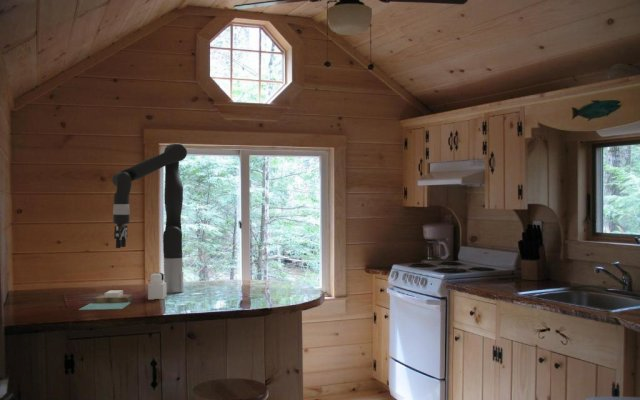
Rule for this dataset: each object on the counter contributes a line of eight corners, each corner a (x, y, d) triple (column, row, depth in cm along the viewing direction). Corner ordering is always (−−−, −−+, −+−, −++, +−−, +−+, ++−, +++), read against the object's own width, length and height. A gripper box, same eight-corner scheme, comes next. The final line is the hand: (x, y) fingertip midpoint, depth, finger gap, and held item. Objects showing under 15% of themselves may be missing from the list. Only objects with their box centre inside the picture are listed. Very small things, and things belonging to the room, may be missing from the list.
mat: (130, 303, 284) (130, 302, 284) (121, 309, 268) (121, 308, 268) (90, 304, 283) (90, 303, 283) (78, 310, 267) (78, 309, 267)
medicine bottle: (151, 297, 301) (151, 272, 301) (166, 297, 301) (166, 272, 301) (147, 299, 294) (147, 274, 294) (163, 299, 294) (162, 273, 294)
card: (109, 294, 294) (109, 290, 294) (122, 294, 294) (122, 290, 294) (104, 297, 285) (104, 293, 285) (118, 297, 285) (117, 293, 285)
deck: (132, 299, 294) (132, 294, 294) (127, 303, 284) (127, 297, 284) (100, 300, 294) (100, 294, 294) (93, 303, 284) (93, 298, 284)
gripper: (125, 214, 294) (124, 248, 294) (133, 213, 309) (132, 246, 308) (109, 213, 294) (108, 248, 294) (117, 213, 308) (117, 246, 308)
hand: (120, 247), depth 301 cm, fingers open, 8 cm apart
